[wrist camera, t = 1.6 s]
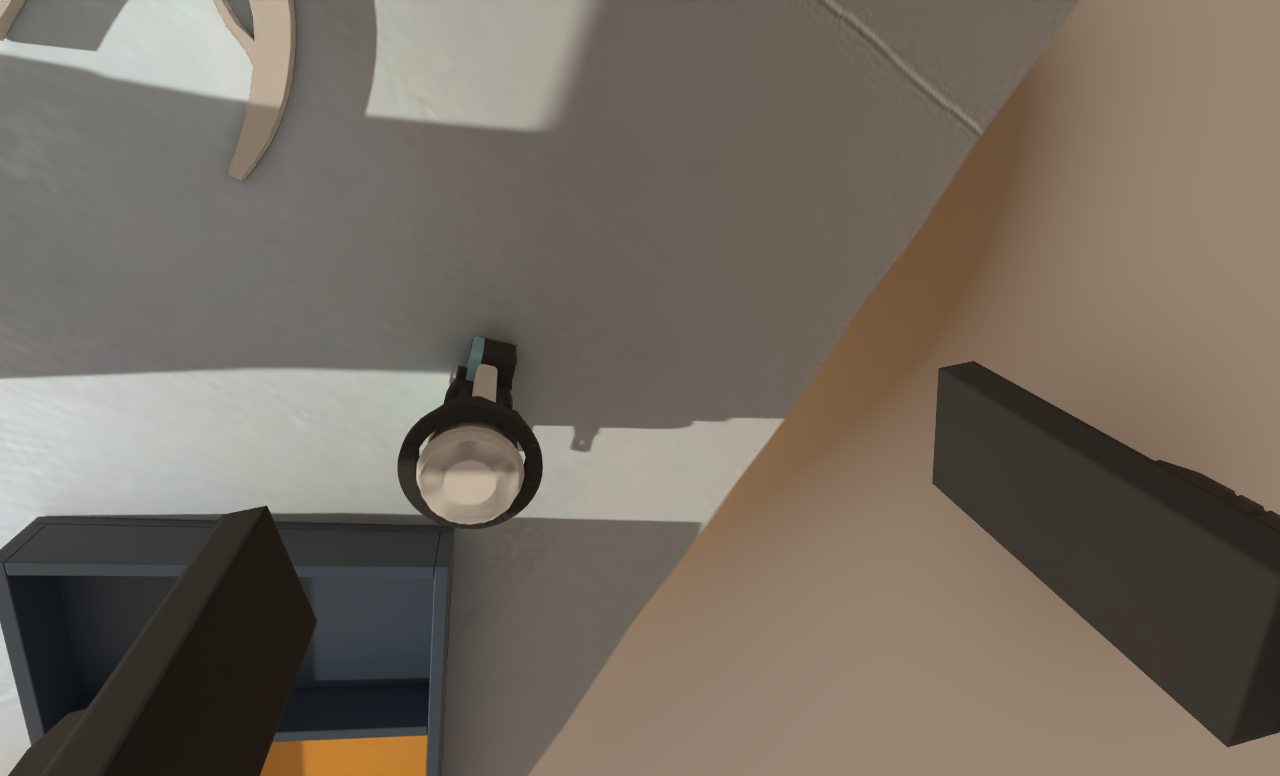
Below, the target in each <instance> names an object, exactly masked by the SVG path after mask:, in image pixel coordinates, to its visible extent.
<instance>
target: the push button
mask: <svg viewBox="0 0 1280 776" xmlns="http://www.w3.org/2000/svg"><path fill="white" fill-rule="evenodd" d="M516 362H517V355H516V345H512V344H508V343H503V342H499V341H495V340H491V339H486V338H482V337H477V336H474V337H473V341H472V345H471V352H470V356H469V360H468V365H467V368H466V367H461V366H459V367H458V371H457V375H456V378H453V377H452V376H453V371H454V368H452V373H451V377H450V381H449V386H448V390H447V393H446V396H445V400H444V404H443V405H442V406H440V407H438V408H437V409H435V410H434V411H432V412H430V413H429V414H427V415H425V416H424V417H423V418H421V419H420V420H419V421H418V422H417V423H416V424H415V425H414V426H413V427H412V429H411V430H410V431H409V433H408V434H407V436H406V437H405V440H404V442H403V444H402V447H401V450H400V453H399V458H398V477H399V482H400V485H401V488H402V490H403V492H404V494H405V496H406V497H407V499H408V500H409V501H410V503H411V504H412V505H413V506H414V507H415V508H416V509H417V510H418V511H419V512H420V513H422V514H423V515H424V516H426V517H428V518H429V519H431V520H433V521H435V522H437V523H440V524H442V525H445V526H449V527H453V528H460V529H480V528H486V527H491V526H494V525H497V524H500V523H502V522H505V521H507V520H509V519H510V518H512V517H514V516H515V515H517V514H518V513H519V512H521V511H522V510H523V509H524V508H525V507H526V506H527V505H528V504H529V502H530V501H531V500H532V499H533V497H534V495H535V494H536V492H537V490H538V488H539V485H540V482H541V477H542V470H543V465H542V454H541V450H540V446H539V443H538V441H537V439H536V437H535V435H534V434H533V432H532V431H531V429H530V427H529V426H528V425H527V423H526V422H525V421H524V420H523V418H522V417H521V416H520V414H519V413H518V412H517V411H515V410H513V409H512V393H513V381H512V379H513V375H514V371H515V367H516ZM430 434H431V435H430ZM429 435H430V437H429V440H428V444H427V446H426V447H425V449H424V450H423V452H422V454H421V456H419V448H420V446H421V444H422V443H423V442H424V440H425V439H426V438H427V437H428V436H429ZM517 441H518V442H519V444H520V445H521V447H522V449H523V451H524V453H525V456H526V459H525V462H524V465H523V460H522V457H521V455H520V454H519V452H518V451H517Z"/></svg>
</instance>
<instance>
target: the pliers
mask: <svg viewBox="0 0 1280 776" xmlns="http://www.w3.org/2000/svg"><path fill="white" fill-rule="evenodd" d="M25 1H26V0H0V40H1V41H3V40H4V38H5V36H6V34H7V32H8V30H9V28H10V27H11V25H12V23H13V21H14V19H15V17H16V16H17V14H18V12H19V11H20V9H21V7H22V6H23V4H24V3H25ZM213 2H214V4H215V6H216V8H217V10H218V11H219V13H220V15H221V17H222V19H223V21H224V23H225V25H226V27H227V28H228V29H229V31H230V32H231V33H232V34H233V36H234V37H235V38H236V40H237V41H238V42H239V43H240V45H241V46H242V47H243V48H244V50H245V51H246V53H247V55H248V57H249V59H250V61H251V63H252V65H253V72H252V80H251V88H250V95H249V101H248V107H247V112H246V116H245V119H244V123H243V127H242V130H241V134H240V137H239V141H238V144H237V148H236V151H235V154H234V157H233V160H232V162H231V165H230V168H229V171H228V175H230V176H232V177H234V178H235V179H237V180H239V181H240V180H243V179H246V178H247V176H248V175H249V174H250V172H251V171H252V170H253V168H254V167H255V166H256V164H257V163H258V162H259V160H260V159H261V157H262V156H263V154H264V153H265V151H266V150H267V148H268V147H269V145H270V144H271V142H272V140H273V137H274V135H275V133H276V131H277V129H278V126H279V124H280V122H281V119H282V116H283V113H284V110H285V107H286V104H287V101H288V98H289V93H290V87H291V82H292V77H293V70H294V60H295V51H296V18H295V11H294V3H293V0H249V3H250V7H251V10H252V14H253V25H254V36H253V35H252V34H251V33H250V32H249V31H248V30H246V29H245V28H244V27H243V26H242V25H241V23H240V21H239V20H238V18H237V16H236V15H235V13H234V11H233V9H232V8H231V6H230V4H229V2H228V0H213Z"/></svg>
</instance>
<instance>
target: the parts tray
mask: <svg viewBox="0 0 1280 776" xmlns="http://www.w3.org/2000/svg"><path fill="white" fill-rule="evenodd" d="M217 522H218V521H201V520H157V519H113V518H70V517H37V518H36V519H35V520H34V521H33V522H32V523H31V524H29V525H28V526H27V527H26V528H25V529H23V530H22V531H21V532H20V533H19V534H18V535H17V536H15V537H14V538H13V539H12V540H11V541H10V542H8V543H7V544H6V545H5V546H4V547H3V548H2V549H0V623H1V627H2V631H3V635H4V639H5V643H6V647H7V651H8V655H9V659H10V663H11V667H12V671H13V675H14V679H15V683H16V687H17V691H18V695H19V699H20V703H21V707H22V711H23V715H24V719H25V722H26V726H27V730H28V734H29V738H30V742H31V746H32V745H33V744H35V743H36V742H37V741H38V740H39V739H40V738H41V737H42V736H43V735H45V734H46V733H47V732H48V731H49V730H50V729H51V728H52V727H53V726H55V725H56V724H57V723H58V722H59V721H60V720H61V719H62V718H63V717H65V716H66V715H67V714H68V713H71V712H75V711H80V710H84V709H87V708H88V707H89V705H90V704H91V702H92V701H93V700H94V698H95V697H96V695H97V694H98V692H99V691H100V690H101V688H102V687H103V685H104V684H105V682H106V681H107V680H108V678H109V677H110V675H111V674H112V672H113V671H114V670H115V668H116V667H117V665H118V664H119V662H120V661H121V660H122V658H123V657H124V655H125V654H126V652H127V651H128V650H129V648H130V647H131V645H132V644H133V642H134V641H135V640H136V638H137V637H138V635H139V634H140V632H141V631H142V630H143V628H144V627H145V625H146V624H147V622H148V621H149V620H150V618H151V617H152V615H153V614H154V612H155V611H156V610H157V608H158V607H159V605H160V604H161V602H162V601H163V600H164V598H165V597H166V595H167V594H168V592H169V591H170V590H171V588H172V587H173V585H174V584H175V582H176V581H177V580H178V578H179V577H180V575H181V574H182V572H183V571H184V570H185V568H186V567H187V565H188V564H189V562H190V561H191V560H192V558H193V557H194V555H195V554H196V552H197V551H198V550H199V548H200V547H201V545H202V544H203V542H204V541H205V540H206V538H207V537H208V535H209V534H210V532H211V531H212V530H213V528H214V527H215V525H216V524H217ZM274 523H275V525H276V527H277V530H278V532H279V534H280V537H281V539H282V541H283V544H284V546H285V548H286V550H287V553H288V555H289V557H290V560H291V562H292V564H293V567H294V569H295V571H296V573H297V576H298V578H299V580H300V583H301V585H302V587H303V590H304V592H305V594H306V596H307V599H308V601H309V603H310V606H311V608H312V610H313V613H314V615H315V617H316V619H317V624H316V627H315V629H314V632H313V635H312V637H311V640H310V643H309V645H308V648H307V651H306V653H305V656H304V659H303V661H302V664H301V667H300V669H299V672H298V675H297V678H296V680H295V683H294V686H293V688H292V691H291V694H290V696H289V699H288V702H287V704H286V707H285V710H284V712H283V715H282V718H281V720H280V723H279V726H278V728H277V731H276V734H275V737H274V739H273V742H272V745H271V747H270V750H269V753H268V755H267V758H266V761H265V763H264V766H263V769H262V771H261V774H260V776H441V769H442V750H443V732H444V713H445V695H446V676H447V658H448V639H449V621H450V603H451V584H452V566H453V547H454V529H455V528H453V527H449V526H421V525H377V524H333V523H289V522H274Z"/></svg>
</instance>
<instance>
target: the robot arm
mask: <svg viewBox="0 0 1280 776" xmlns="http://www.w3.org/2000/svg"><path fill="white" fill-rule="evenodd" d="M935 429H936V430H935V446H934V448H935V449H934V465H933V484H934V485H935V486H936V487H937V488H938V489H939V490H941V491H942V492H943V493H944V494H945V495H946V496H947V497H948V498H950V499H951V500H952V501H953V502H954V503H955V504H956V505H957V506H958V507H960V508H961V509H962V510H963V511H964V512H965V513H966V514H967V515H968V516H970V517H971V518H972V519H973V520H974V521H975V522H976V523H978V524H979V525H980V526H981V527H982V528H983V529H984V530H985V531H986V532H987V533H989V534H990V535H991V536H992V537H993V538H994V539H995V540H996V541H998V542H999V543H1000V544H1001V545H1002V546H1003V547H1004V548H1005V549H1007V550H1008V551H1009V552H1010V553H1011V554H1012V555H1013V556H1014V557H1015V558H1017V559H1018V560H1019V561H1020V562H1021V563H1022V564H1023V565H1024V566H1025V567H1027V568H1028V569H1029V570H1030V571H1031V572H1032V573H1033V574H1034V575H1036V576H1037V577H1038V578H1039V579H1040V580H1041V581H1042V582H1043V583H1045V584H1046V585H1047V586H1048V587H1049V588H1050V589H1051V590H1053V592H1055V593H1056V594H1057V595H1058V596H1059V597H1060V598H1061V599H1062V600H1063V601H1065V602H1066V603H1067V604H1068V605H1069V606H1070V607H1071V608H1073V609H1074V610H1075V611H1076V612H1077V613H1078V614H1079V615H1080V616H1081V617H1082V618H1084V619H1085V620H1086V621H1087V622H1088V623H1089V624H1090V625H1091V626H1093V627H1094V628H1095V629H1096V630H1097V631H1098V632H1099V633H1100V634H1102V635H1103V636H1104V637H1105V638H1106V639H1107V640H1108V641H1109V642H1111V643H1112V644H1113V645H1114V646H1115V647H1116V648H1117V649H1118V650H1120V651H1121V652H1122V653H1123V654H1124V655H1125V656H1126V657H1127V658H1128V659H1129V660H1131V661H1132V662H1133V663H1134V664H1135V665H1136V666H1137V667H1138V668H1139V669H1141V670H1142V671H1143V672H1144V673H1145V674H1146V675H1147V676H1148V677H1150V678H1151V679H1152V680H1153V681H1154V682H1155V683H1156V684H1157V685H1158V686H1160V687H1161V688H1162V689H1163V690H1164V691H1165V692H1166V693H1167V694H1169V695H1170V696H1171V697H1172V698H1173V699H1174V700H1175V701H1176V702H1178V703H1179V704H1180V705H1181V706H1182V707H1183V708H1184V709H1185V710H1186V711H1188V712H1189V713H1190V714H1191V715H1192V716H1193V717H1194V718H1195V719H1197V720H1198V721H1199V722H1200V723H1201V724H1202V725H1203V726H1204V727H1205V728H1207V729H1208V730H1209V731H1210V732H1211V733H1212V734H1213V735H1214V736H1216V737H1217V738H1218V739H1219V740H1220V741H1221V742H1222V743H1223V744H1224V745H1226V746H1227V747H1230V746H1234V745H1237V744H1241V743H1244V742H1247V741H1251V740H1255V739H1258V738H1262V737H1265V736H1268V735H1272V734H1276V733H1279V732H1280V515H1278V514H1276V513H1274V512H1273V511H1267V512H1266V511H1265V510H1264V508H1263V506H1261V505H1259V504H1258V503H1256V502H1254V501H1252V500H1250V499H1248V498H1246V497H1244V496H1243V495H1240V496H1237V495H1236V494H1235V491H1233V490H1231V489H1229V488H1227V487H1226V486H1223V485H1222V484H1220V483H1218V482H1216V481H1214V480H1212V479H1210V478H1208V477H1207V476H1205V475H1203V474H1201V473H1199V472H1195V471H1192V470H1189V469H1186V468H1183V467H1180V466H1177V465H1174V464H1171V463H1168V462H1165V461H1161V460H1158V461H1154V460H1152V459H1150V458H1148V457H1146V456H1145V455H1142V454H1141V453H1139V452H1137V451H1135V450H1134V449H1132V448H1130V447H1128V446H1126V445H1124V444H1123V443H1121V442H1119V441H1117V440H1115V439H1114V438H1112V437H1110V436H1108V435H1107V434H1105V433H1103V432H1101V431H1099V430H1097V429H1096V428H1094V427H1092V426H1090V425H1088V424H1087V423H1085V422H1083V421H1081V420H1079V419H1078V418H1076V417H1074V416H1072V415H1070V414H1068V413H1066V412H1065V411H1063V410H1061V409H1059V408H1058V407H1056V406H1054V405H1052V404H1050V403H1049V402H1047V401H1045V400H1043V399H1041V398H1039V397H1038V396H1036V395H1034V394H1032V393H1030V392H1029V391H1027V390H1025V389H1023V388H1021V387H1020V386H1018V385H1016V384H1014V383H1012V382H1010V381H1009V380H1007V379H1005V378H1003V377H1001V376H1000V375H998V374H996V373H994V372H992V371H991V370H989V369H987V368H985V367H983V366H981V365H979V364H978V363H976V362H974V361H972V362H967V363H962V364H957V365H952V366H947V367H943V368H939V373H938V392H937V411H936V428H935ZM316 624H317V619H316V617H315V615H314V613H313V610H312V608H311V606H310V603H309V601H308V599H307V596H306V594H305V592H304V590H303V587H302V585H301V583H300V580H299V578H298V576H297V573H296V571H295V569H294V567H293V564H292V562H291V560H290V557H289V555H288V553H287V550H286V548H285V546H284V544H283V541H282V539H281V537H280V534H279V532H278V530H277V527H276V525H275V523H274V521H273V518H272V516H271V514H270V511H269V509H268V507H267V506H263V507H258V508H253V509H249V510H244V511H239V512H234V513H229V514H224V515H222V517H221V518H220V520H219V521H218V522H217V524H216V525H215V527H214V528H213V530H212V531H211V532H210V534H209V535H208V537H207V538H206V540H205V541H204V542H203V544H202V545H201V547H200V548H199V550H198V551H197V552H196V554H195V555H194V557H193V558H192V560H191V561H190V562H189V564H188V565H187V567H186V568H185V570H184V571H183V572H182V574H181V575H180V577H179V578H178V580H177V581H176V582H175V584H174V585H173V587H172V588H171V590H170V591H169V592H168V594H167V595H166V597H165V598H164V600H163V601H162V602H161V604H160V605H159V607H158V608H157V610H156V611H155V612H154V614H153V615H152V617H151V618H150V620H149V621H148V622H147V624H146V625H145V627H144V628H143V630H142V631H141V632H140V634H139V635H138V637H137V638H136V640H135V641H134V642H133V644H132V645H131V647H130V648H129V650H128V651H127V652H126V654H125V655H124V657H123V658H122V660H121V661H120V662H119V664H118V665H117V667H116V668H115V670H114V671H113V672H112V674H111V675H110V677H109V678H108V680H107V681H106V682H105V684H104V685H103V687H102V688H101V690H100V691H99V692H98V694H97V695H96V697H95V698H94V700H93V701H92V702H91V704H90V705H89V707H88V708H87V709H84V710H80V711H75V712H71V713H68V714H67V715H66V716H65V717H63V718H62V719H61V720H60V721H59V722H58V723H57V724H56V725H55V726H53V727H52V728H51V729H50V730H49V731H48V732H47V733H46V734H45V735H43V736H42V737H41V738H40V739H39V740H38V741H37V742H36V743H35V744H33V745H32V746H31V747H30V748H29V749H28V750H27V751H26V753H25V754H24V755H23V757H22V758H21V759H20V761H19V762H18V763H17V765H16V766H15V767H14V769H13V770H12V771H11V773H10V774H9V775H8V776H260V774H261V771H262V769H263V766H264V763H265V761H266V758H267V755H268V753H269V750H270V747H271V745H272V742H273V739H274V737H275V734H276V731H277V728H278V726H279V723H280V720H281V718H282V715H283V712H284V710H285V707H286V704H287V702H288V699H289V696H290V694H291V691H292V688H293V686H294V683H295V680H296V678H297V675H298V672H299V669H300V667H301V664H302V661H303V659H304V656H305V653H306V651H307V648H308V645H309V643H310V640H311V637H312V635H313V632H314V629H315V627H316Z"/></svg>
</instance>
